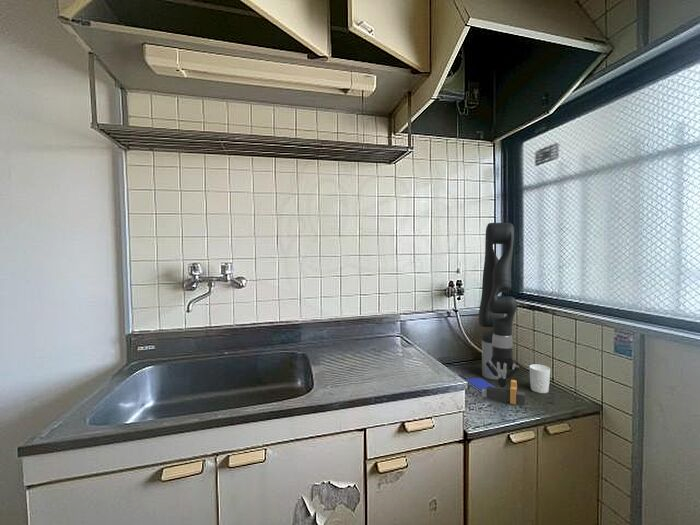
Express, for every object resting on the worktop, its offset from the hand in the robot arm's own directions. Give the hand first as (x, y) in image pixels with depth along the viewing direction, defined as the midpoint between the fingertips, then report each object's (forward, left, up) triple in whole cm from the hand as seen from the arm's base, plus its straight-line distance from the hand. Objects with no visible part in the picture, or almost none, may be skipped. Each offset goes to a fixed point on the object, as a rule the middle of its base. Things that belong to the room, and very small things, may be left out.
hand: (502, 386), depth 137 cm
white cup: (-17, +13, -6) cm, 22 cm away
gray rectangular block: (0, +1, -6) cm, 6 cm away
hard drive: (-10, -10, -6) cm, 15 cm away
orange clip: (0, +4, -6) cm, 7 cm away
